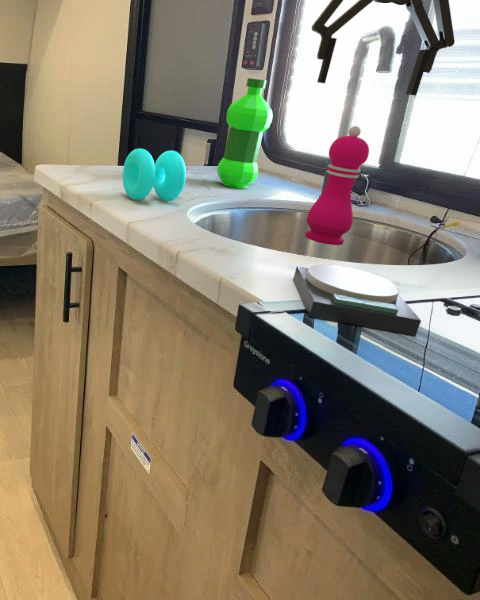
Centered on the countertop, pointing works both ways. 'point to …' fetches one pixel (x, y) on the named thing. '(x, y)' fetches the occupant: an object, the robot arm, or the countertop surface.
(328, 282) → the kitchen scale
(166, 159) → the turquoise spool
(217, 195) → the countertop surface
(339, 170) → the pepper mill
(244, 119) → the plastic bottle
